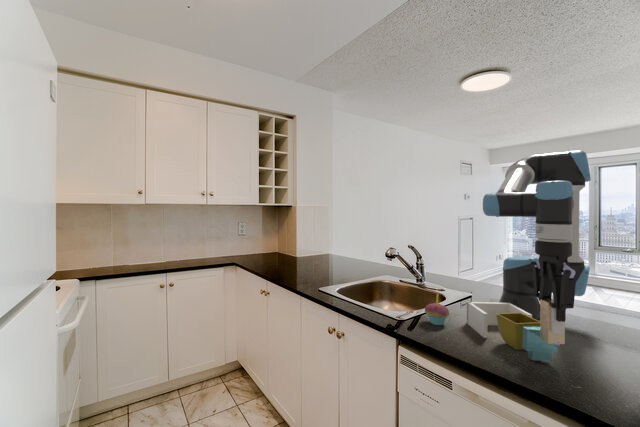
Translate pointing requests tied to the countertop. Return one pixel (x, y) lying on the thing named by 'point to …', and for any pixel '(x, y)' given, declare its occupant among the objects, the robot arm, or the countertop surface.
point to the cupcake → (436, 312)
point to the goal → (488, 314)
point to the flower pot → (514, 327)
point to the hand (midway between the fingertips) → (552, 329)
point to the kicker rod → (542, 335)
